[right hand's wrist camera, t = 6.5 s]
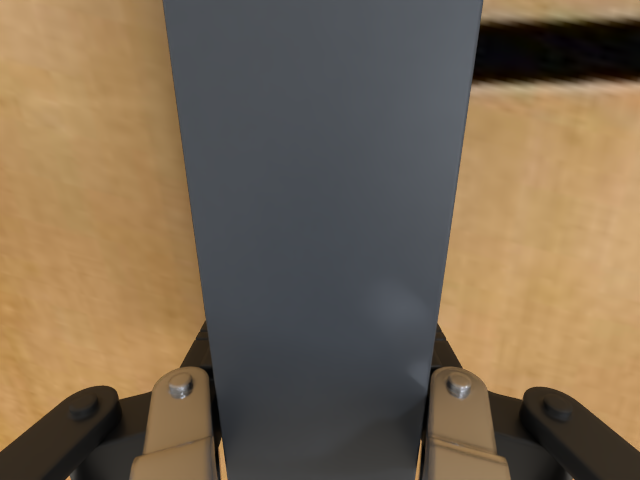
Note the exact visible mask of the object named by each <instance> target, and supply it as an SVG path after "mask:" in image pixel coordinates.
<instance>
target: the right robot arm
mask: <svg viewBox="0 0 640 480" xmlns="http://www.w3.org/2000/svg"><path fill="white" fill-rule="evenodd" d="M221 438H222V433H221V426H220V419H219V411H218V404H217V397H216V389H215V382H214V375H213V367H212V360H211V353H210V345H209V338H208V331H207V323H206V321H205V322H204V324H203V326H202V328H201V330H200V332H199V333H198V335H197V337H196V340H195V341H194V342H193V344H192V346H191V348H190V350H189V352H188V353H187V355H186V357H185V359H184V361H183V363H182V364H181V366H180V368H178V369H175V370H173V371H171V372H169V373H167V374H165V375H164V376H163V377H161V378H160V379H159V380H158V381H157V383H156V384H155V385H154V387H153V390H152V391H151V392H148V393H145V394H141V395H137V396H132V397H128V398H124V399H120V400H119V398H118V394H117V391H116V390H115V389H113V388H112V387H109V386H94V387H90V388H86V389H83V390H81V391H79V392H77V393H75V394H73V395H71V396H69V397H68V398H66V399H65V400H64V401H62V402H61V403H60V404H59V405H57V406H56V407H55V408H54V409H52V410H51V411H50V412H49V413H48V414H46V415H45V416H44V417H43V418H41V419H40V420H39V421H38V422H37V423H35V424H34V425H33V426H32V427H30V428H29V429H28V430H27V431H26V432H24V433H23V434H22V435H21V436H19V437H18V438H17V439H16V440H15V441H13V442H12V443H11V444H10V445H8V446H7V447H6V448H5V449H4V450H2V451H1V452H0V480H65V479H66V478H67V477H68V476H69V475H70V478H71V480H222V478H221V465H220V452H219V444H220V441H221ZM421 440H422V444H421V451H420V463H419V477H418V480H572V479H573V478H574V479H575V480H640V452H639V451H638V450H637V449H635V448H634V447H633V446H632V445H630V444H629V443H628V442H627V441H625V440H624V439H623V438H622V437H621V436H619V435H618V434H617V433H616V432H614V431H613V430H612V429H611V428H610V427H608V426H607V425H606V424H605V423H603V422H602V421H601V420H600V419H599V418H597V417H596V416H595V415H594V414H592V413H591V412H590V411H589V410H588V409H586V408H585V407H584V406H583V405H581V404H580V403H579V402H578V401H576V400H575V399H573V398H572V397H570V396H569V395H567V394H565V393H563V392H560V391H558V390H555V389H551V388H547V387H533V388H530V389H528V390H526V392H525V393H524V396H523V400H520V399H516V398H512V397H508V396H504V395H500V394H496V393H493V392H490V391H488V390H487V388H486V386H485V384H484V383H483V381H482V380H481V379H480V378H478V377H477V376H476V375H474V374H473V373H471V372H469V371H467V370H465V369H463V368H462V366H461V364H460V363H459V361H458V359H457V357H456V355H455V354H454V352H453V350H452V348H451V346H450V345H449V343H448V341H446V337H445V336H444V334H443V332H442V330H441V328H440V327H439V325H438V323H437V328H436V335H435V342H434V349H433V356H432V363H431V370H430V377H429V384H428V391H427V398H426V405H425V412H424V419H423V426H422V433H421Z"/></svg>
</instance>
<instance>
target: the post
mask: <svg viewBox="0 0 640 480" xmlns="http://www.w3.org/2000/svg"><path fill="white" fill-rule="evenodd" d="M482 6H483V0H163V7H164V15H165V22H166V29H167V37H168V44H169V51H170V59H171V66H172V73H173V81H174V88H175V95H176V103H177V110H178V117H179V125H180V132H181V139H182V147H183V154H184V162H185V169H186V176H187V184H188V191H189V198H190V206H191V213H192V220H193V228H194V235H195V242H196V250H197V257H198V264H199V272H200V279H201V286H202V294H203V301H204V309H205V316H206V323H207V331H208V338H209V345H210V353H211V360H212V367H213V375H214V382H215V389H216V397H217V404H218V411H219V419H220V426H221V433H222V441H223V448H224V456H225V463H226V470H227V478H228V480H415V475H416V468H417V461H418V454H419V447H420V440H421V433H422V426H423V419H424V412H425V405H426V398H427V391H428V384H429V377H430V370H431V363H432V356H433V349H434V342H435V335H436V328H437V321H438V314H439V307H440V300H441V293H442V286H443V279H444V272H445V265H446V258H447V251H448V244H449V237H450V230H451V223H452V216H453V209H454V202H455V195H456V188H457V181H458V174H459V167H460V160H461V153H462V146H463V139H464V132H465V125H466V118H467V111H468V104H469V97H470V90H471V83H472V76H473V69H474V62H475V55H476V48H477V41H478V34H479V27H480V20H481V13H482Z"/></svg>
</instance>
